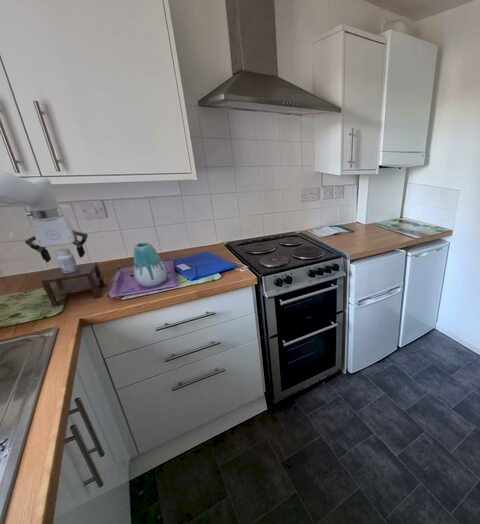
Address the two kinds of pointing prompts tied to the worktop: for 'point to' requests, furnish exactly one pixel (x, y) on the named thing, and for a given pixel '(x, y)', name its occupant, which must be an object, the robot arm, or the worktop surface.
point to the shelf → (73, 281)
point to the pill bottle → (66, 261)
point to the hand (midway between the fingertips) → (65, 258)
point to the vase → (148, 266)
